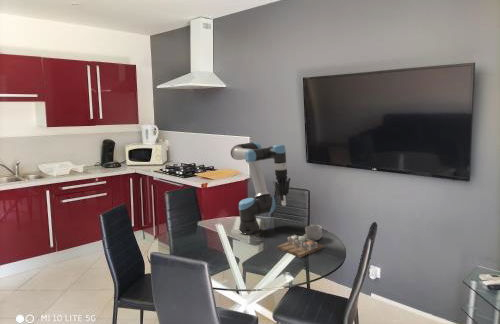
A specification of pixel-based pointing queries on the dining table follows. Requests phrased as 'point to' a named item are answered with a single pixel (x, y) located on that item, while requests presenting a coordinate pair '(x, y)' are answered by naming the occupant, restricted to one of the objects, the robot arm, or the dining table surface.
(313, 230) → the teacup
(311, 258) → the dining table surface
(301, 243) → the button board
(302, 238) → the button two
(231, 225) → the dining table surface
